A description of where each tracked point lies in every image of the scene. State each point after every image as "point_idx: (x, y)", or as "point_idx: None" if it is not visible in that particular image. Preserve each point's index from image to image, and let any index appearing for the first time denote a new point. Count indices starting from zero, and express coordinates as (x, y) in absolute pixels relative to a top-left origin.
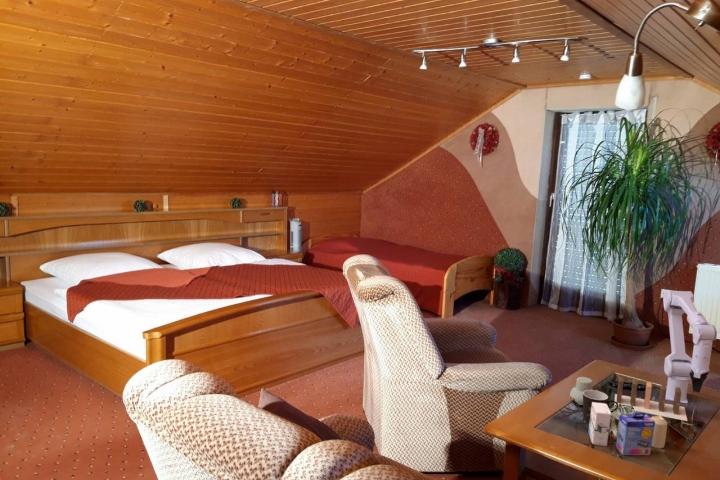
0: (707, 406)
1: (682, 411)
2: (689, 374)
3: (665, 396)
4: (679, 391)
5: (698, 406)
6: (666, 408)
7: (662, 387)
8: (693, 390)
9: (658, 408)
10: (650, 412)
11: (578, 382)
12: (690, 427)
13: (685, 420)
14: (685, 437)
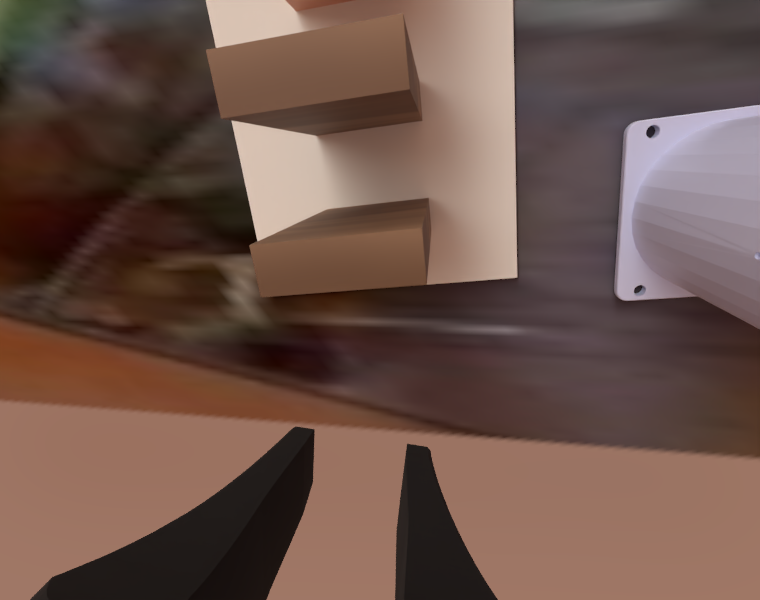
0: (635, 417)
1: None
2: (49, 597)
3: (263, 125)
4: (286, 277)
5: (602, 365)
6: (405, 151)
7: (279, 53)
8: (285, 436)
9: None
10: (237, 34)
11: None
12: (200, 311)
13: None
14: (45, 285)
